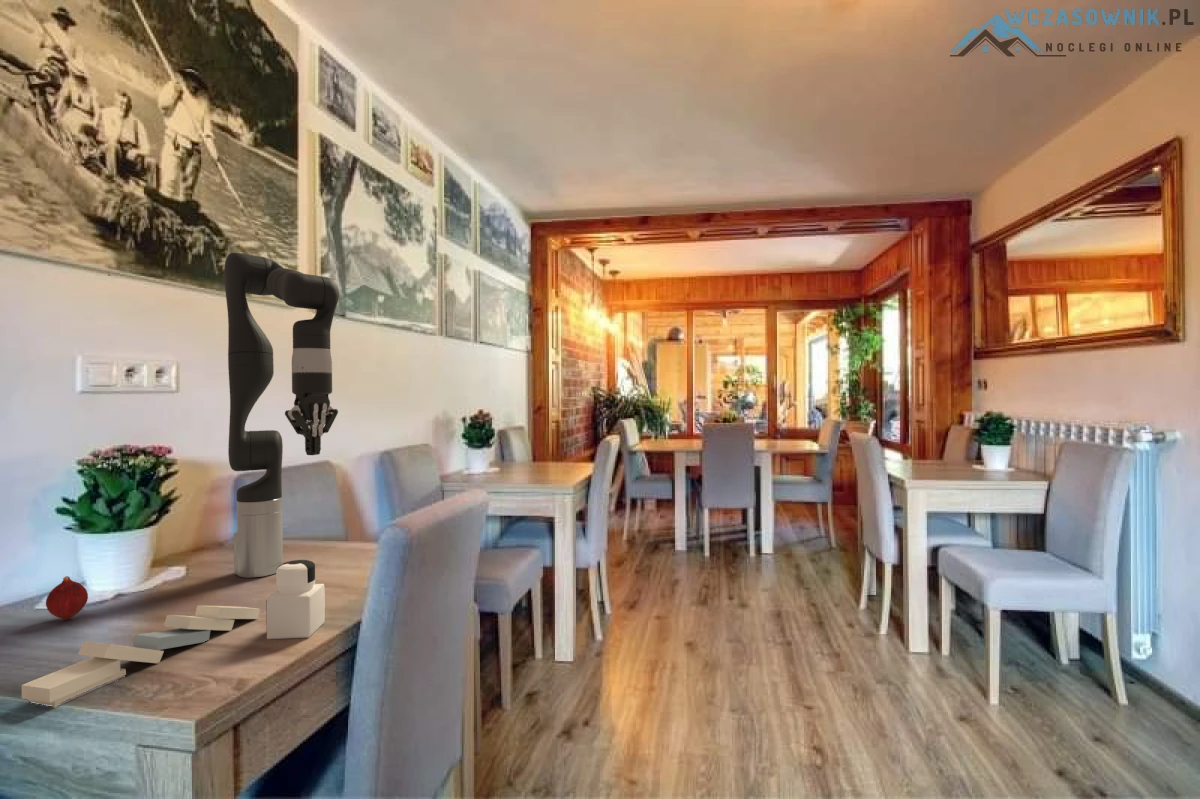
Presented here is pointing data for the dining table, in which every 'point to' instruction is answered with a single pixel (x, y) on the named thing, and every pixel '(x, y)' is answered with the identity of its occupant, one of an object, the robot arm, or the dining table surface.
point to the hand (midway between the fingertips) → (313, 454)
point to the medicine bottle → (295, 602)
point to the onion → (66, 599)
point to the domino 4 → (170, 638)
